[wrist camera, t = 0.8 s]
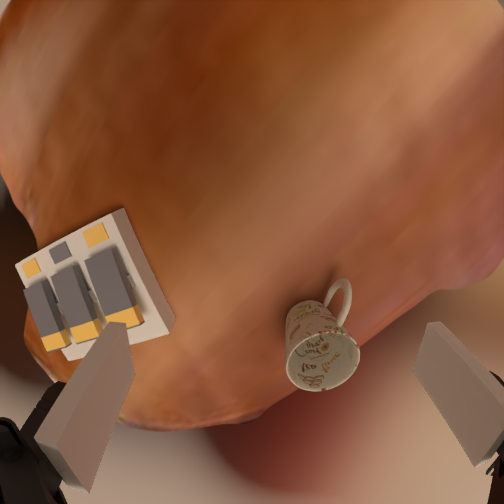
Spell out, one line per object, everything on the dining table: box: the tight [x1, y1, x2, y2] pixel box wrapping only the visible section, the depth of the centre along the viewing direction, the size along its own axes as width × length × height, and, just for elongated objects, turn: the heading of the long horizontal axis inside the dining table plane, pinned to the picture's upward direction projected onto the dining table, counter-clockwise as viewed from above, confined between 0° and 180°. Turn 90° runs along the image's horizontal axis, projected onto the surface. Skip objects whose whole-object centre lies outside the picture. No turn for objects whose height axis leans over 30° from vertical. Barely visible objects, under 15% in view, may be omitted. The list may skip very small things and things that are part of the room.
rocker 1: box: [23, 280, 72, 353], centre depth 34 cm, size 9×4×1 cm, turn 20°
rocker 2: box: [50, 265, 103, 344], centre depth 33 cm, size 9×4×1 cm, turn 20°
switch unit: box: [15, 207, 175, 361], centre depth 37 cm, size 16×18×5 cm
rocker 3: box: [84, 248, 145, 330], centre depth 33 cm, size 9×4×1 cm, turn 20°
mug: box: [285, 277, 360, 391], centre depth 36 cm, size 8×13×10 cm, turn 161°
